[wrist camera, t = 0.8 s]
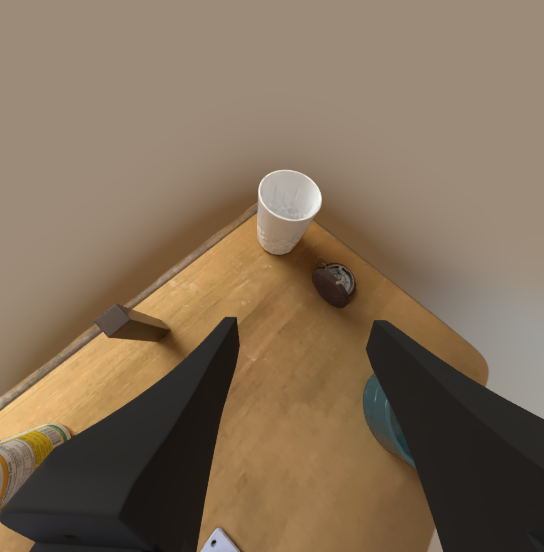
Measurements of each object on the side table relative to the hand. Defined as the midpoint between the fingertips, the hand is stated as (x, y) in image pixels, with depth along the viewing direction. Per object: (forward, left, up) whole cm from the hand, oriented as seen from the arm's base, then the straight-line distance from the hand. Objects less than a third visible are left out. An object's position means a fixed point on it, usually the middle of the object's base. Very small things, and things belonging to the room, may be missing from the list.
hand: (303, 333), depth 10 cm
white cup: (+14, +10, -18) cm, 25 cm away
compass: (+14, -1, -18) cm, 23 cm away
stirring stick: (-8, +11, -18) cm, 23 cm away
